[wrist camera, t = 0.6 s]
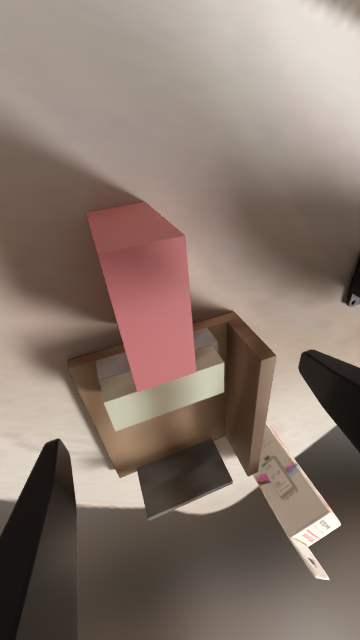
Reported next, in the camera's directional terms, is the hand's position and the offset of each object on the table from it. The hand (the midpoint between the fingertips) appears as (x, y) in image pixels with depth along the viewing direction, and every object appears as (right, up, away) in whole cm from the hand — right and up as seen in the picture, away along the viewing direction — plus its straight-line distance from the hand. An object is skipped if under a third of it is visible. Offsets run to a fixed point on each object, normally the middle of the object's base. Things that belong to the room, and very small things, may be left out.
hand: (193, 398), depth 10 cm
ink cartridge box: (+10, -13, +28) cm, 32 cm away
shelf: (-2, -5, +17) cm, 18 cm away
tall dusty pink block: (-4, +6, +9) cm, 12 cm away
